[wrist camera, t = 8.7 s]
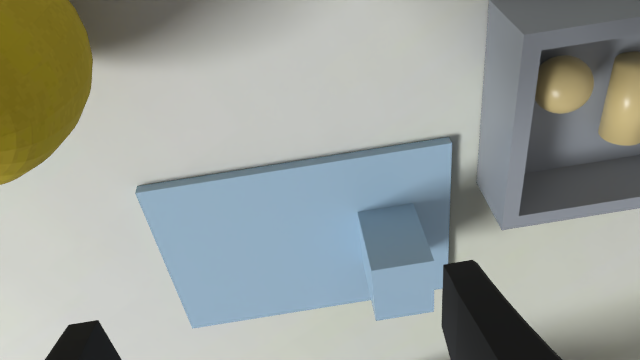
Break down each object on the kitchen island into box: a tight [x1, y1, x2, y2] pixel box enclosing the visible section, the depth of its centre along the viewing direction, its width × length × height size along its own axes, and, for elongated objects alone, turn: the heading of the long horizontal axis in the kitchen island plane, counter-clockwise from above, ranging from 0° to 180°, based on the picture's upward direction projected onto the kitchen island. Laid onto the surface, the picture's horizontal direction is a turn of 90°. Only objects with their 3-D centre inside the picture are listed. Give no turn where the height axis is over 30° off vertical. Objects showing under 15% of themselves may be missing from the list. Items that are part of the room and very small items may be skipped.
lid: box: [135, 137, 452, 328], centre depth 23 cm, size 9×13×4 cm
